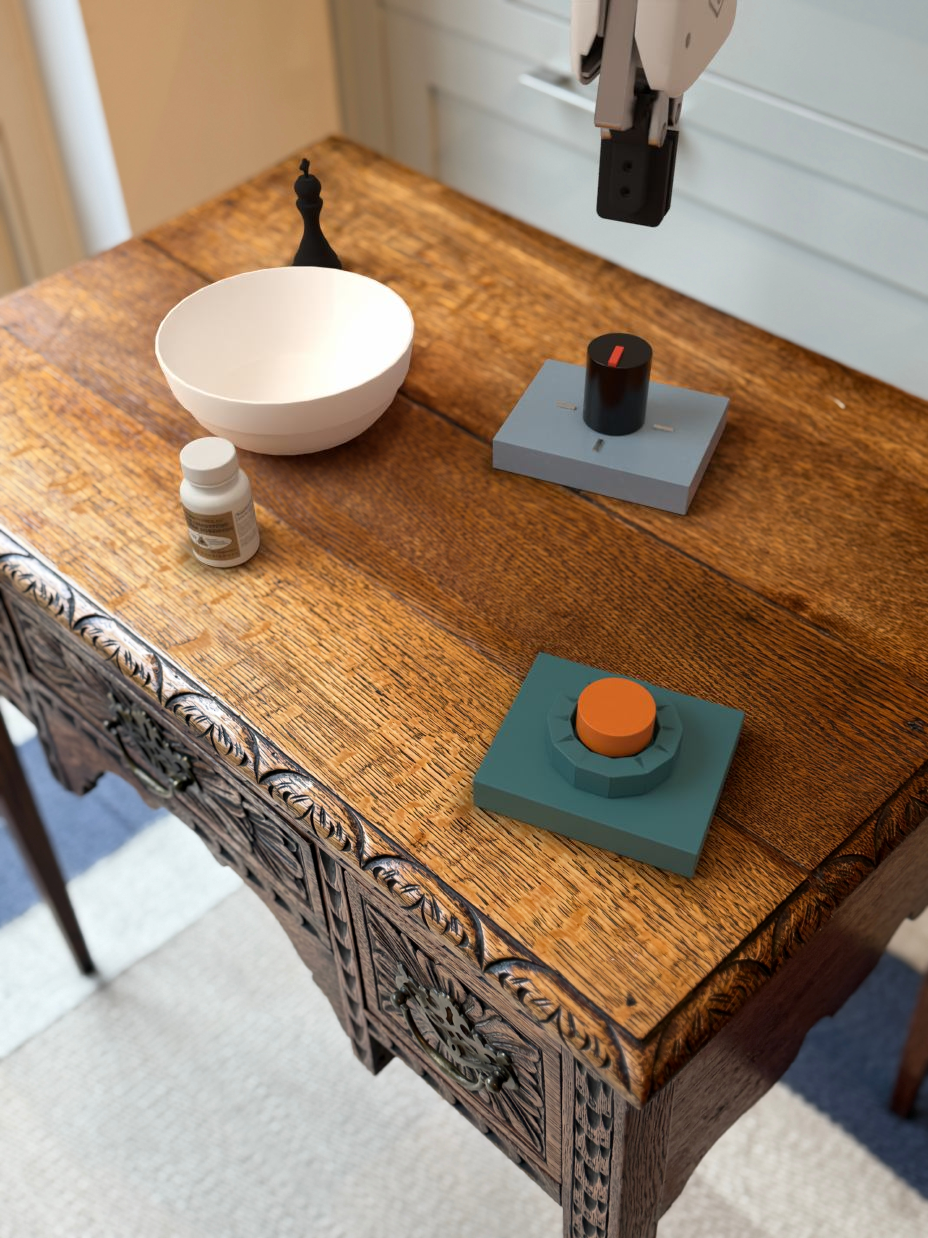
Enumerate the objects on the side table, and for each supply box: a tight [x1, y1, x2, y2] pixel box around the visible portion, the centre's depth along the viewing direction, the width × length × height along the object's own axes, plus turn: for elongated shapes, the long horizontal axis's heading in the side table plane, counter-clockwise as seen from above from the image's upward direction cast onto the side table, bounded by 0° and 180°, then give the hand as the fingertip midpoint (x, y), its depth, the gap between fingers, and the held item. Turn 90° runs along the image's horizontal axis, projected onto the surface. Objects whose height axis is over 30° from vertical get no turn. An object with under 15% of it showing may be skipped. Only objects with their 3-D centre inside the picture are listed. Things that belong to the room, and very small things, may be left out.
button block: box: [472, 651, 746, 880], centre depth 63 cm, size 12×10×4 cm
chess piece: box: [291, 157, 343, 270], centre depth 100 cm, size 4×4×10 cm
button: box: [576, 678, 656, 757], centre depth 61 cm, size 4×4×2 cm
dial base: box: [492, 358, 731, 516], centre depth 84 cm, size 14×11×3 cm
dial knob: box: [583, 332, 654, 436], centre depth 81 cm, size 4×4×6 cm
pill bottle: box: [179, 436, 261, 568], centre depth 75 cm, size 4×4×8 cm
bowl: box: [154, 266, 416, 456], centre depth 86 cm, size 18×18×7 cm
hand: (632, 214), depth 56 cm, fingers closed
